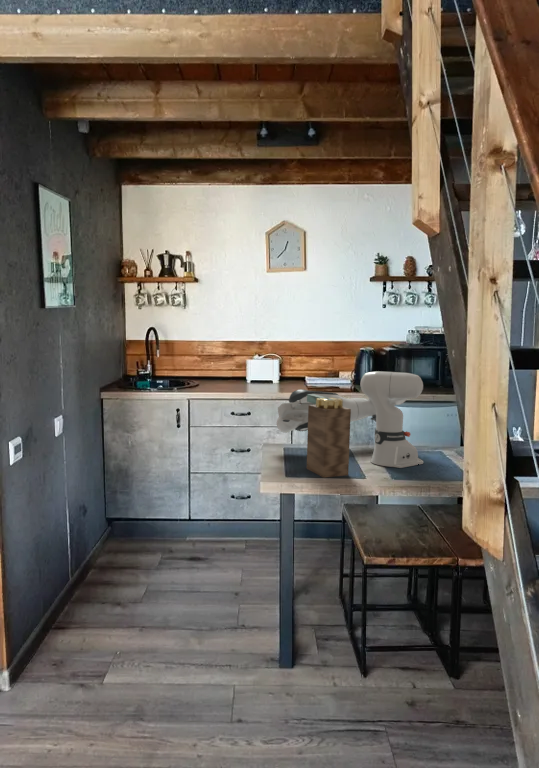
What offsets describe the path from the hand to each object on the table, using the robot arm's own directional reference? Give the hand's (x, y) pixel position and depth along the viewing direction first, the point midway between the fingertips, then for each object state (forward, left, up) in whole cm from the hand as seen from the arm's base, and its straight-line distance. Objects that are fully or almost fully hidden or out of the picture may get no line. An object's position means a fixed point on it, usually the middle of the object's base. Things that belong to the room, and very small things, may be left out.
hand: (309, 401), depth 236 cm
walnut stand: (0, +15, -26) cm, 30 cm away
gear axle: (0, +11, 0) cm, 10 cm away
